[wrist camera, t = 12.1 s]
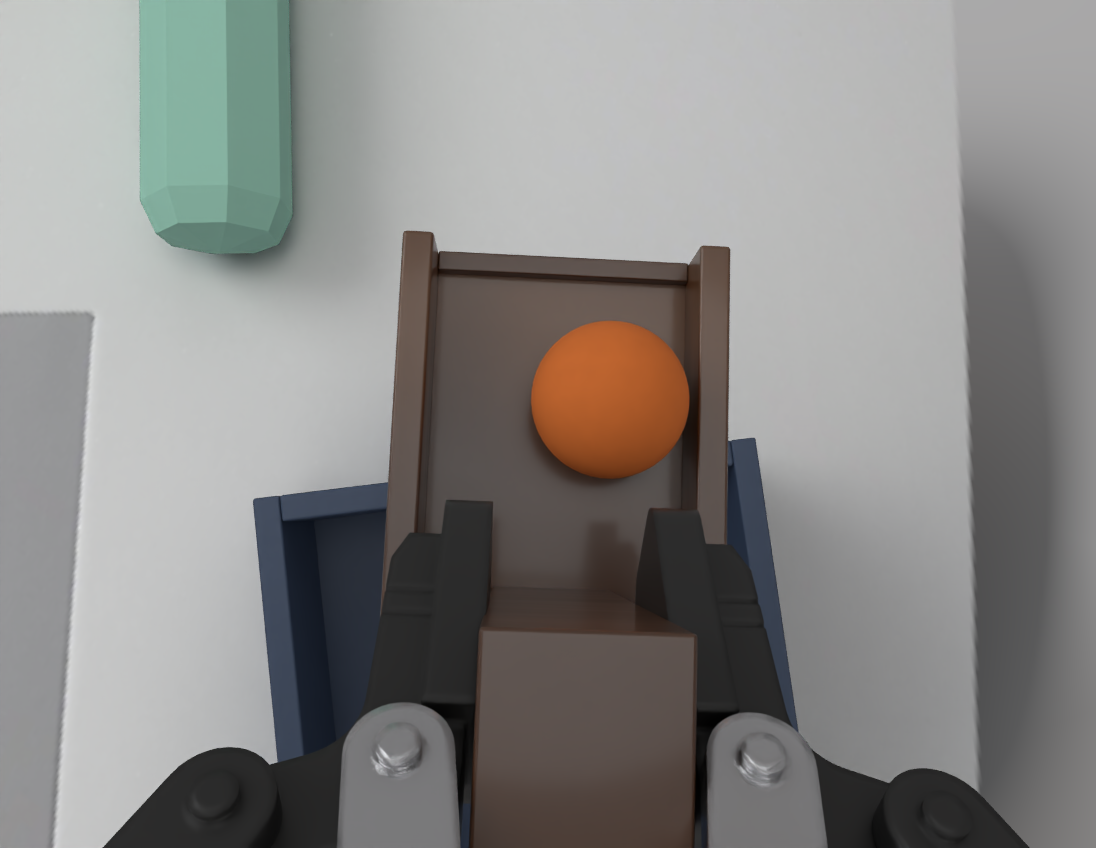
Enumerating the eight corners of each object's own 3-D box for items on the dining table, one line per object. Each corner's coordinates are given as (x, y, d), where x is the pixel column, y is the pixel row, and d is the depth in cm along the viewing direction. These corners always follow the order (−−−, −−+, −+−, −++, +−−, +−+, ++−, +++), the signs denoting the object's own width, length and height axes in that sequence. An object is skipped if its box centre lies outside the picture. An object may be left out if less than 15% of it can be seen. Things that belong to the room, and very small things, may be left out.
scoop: (413, 262, 19) (335, 27, 11) (707, 277, 20) (873, 59, 11) (387, 716, 18) (273, 886, 9) (700, 725, 18) (882, 900, 10)
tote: (712, 449, 34) (755, 437, 28) (773, 878, 32) (831, 954, 27) (293, 501, 33) (252, 498, 27) (337, 948, 31) (303, 1042, 26)
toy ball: (535, 326, 19) (546, 296, 16) (677, 343, 19) (714, 317, 16) (518, 470, 18) (526, 467, 15) (663, 486, 19) (698, 487, 16)
